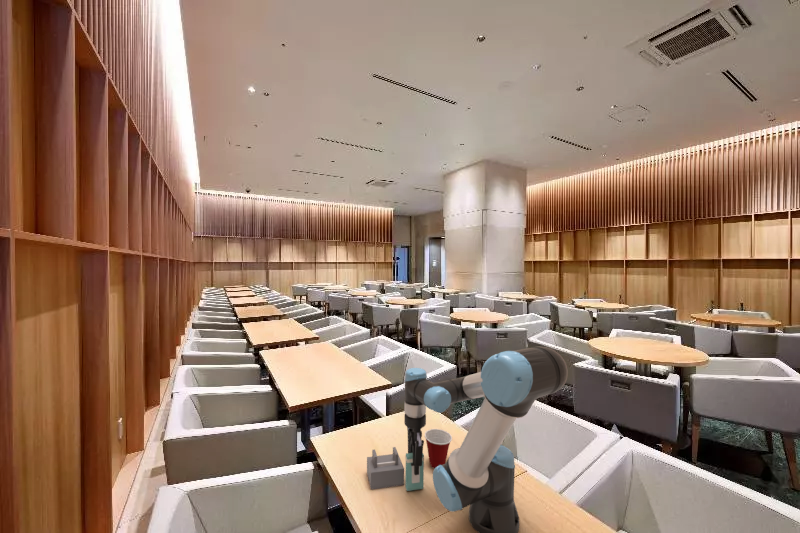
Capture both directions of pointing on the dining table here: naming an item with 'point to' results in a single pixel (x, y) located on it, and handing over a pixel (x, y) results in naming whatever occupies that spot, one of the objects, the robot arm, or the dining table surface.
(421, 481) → the teal flat box
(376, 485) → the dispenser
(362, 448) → the dining table surface
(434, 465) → the plastic cup
